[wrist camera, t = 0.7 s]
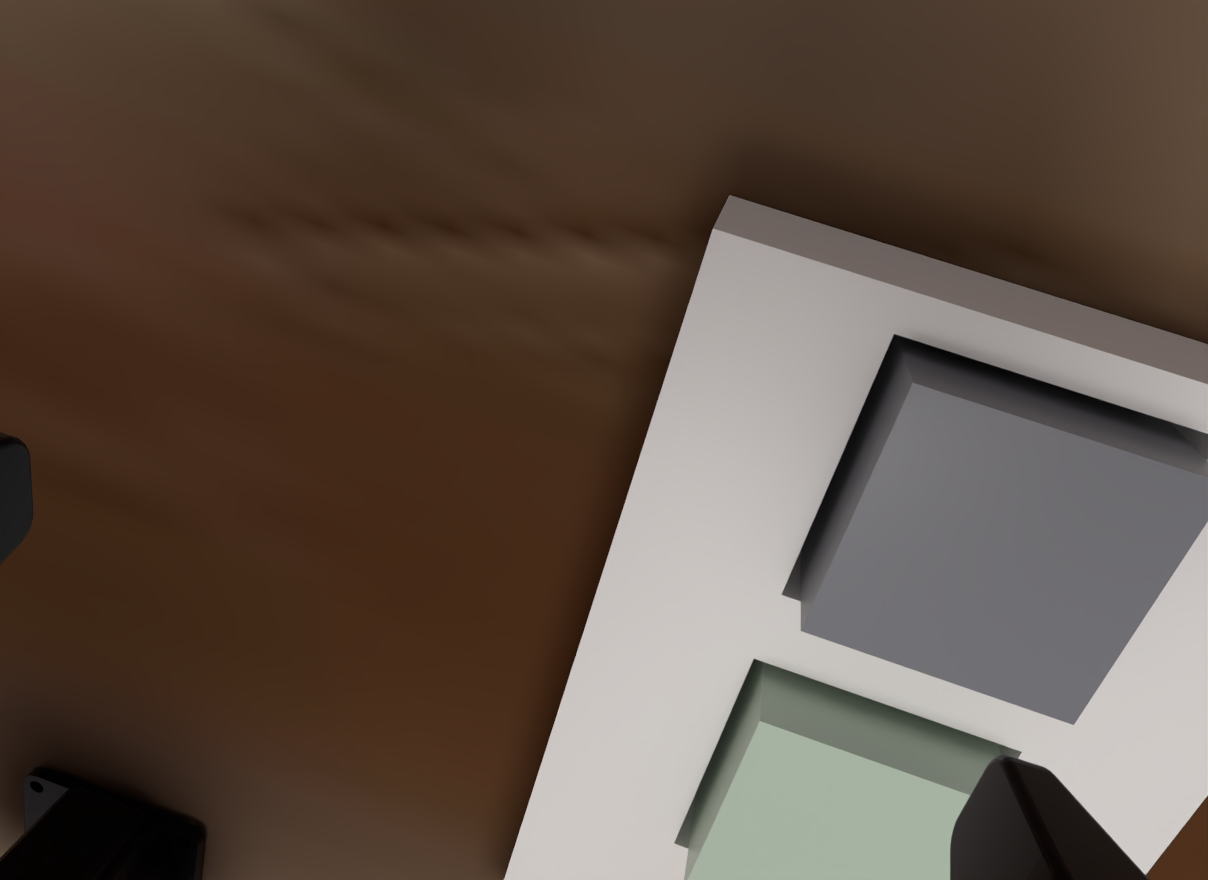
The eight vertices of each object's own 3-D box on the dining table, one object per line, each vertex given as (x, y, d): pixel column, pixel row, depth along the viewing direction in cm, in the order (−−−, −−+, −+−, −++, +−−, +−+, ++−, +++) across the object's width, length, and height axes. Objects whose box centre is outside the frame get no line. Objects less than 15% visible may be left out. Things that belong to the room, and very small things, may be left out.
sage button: (893, 842, 23) (908, 975, 20) (699, 772, 24) (682, 892, 20) (982, 690, 21) (1016, 811, 18) (766, 615, 21) (759, 721, 18)
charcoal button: (1028, 611, 20) (1073, 725, 17) (800, 535, 20) (800, 631, 17) (1150, 403, 18) (1231, 485, 14) (892, 320, 18) (913, 382, 15)
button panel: (900, 1027, 28) (914, 1170, 25) (507, 880, 29) (465, 998, 26) (1336, 384, 19) (1464, 465, 15) (729, 195, 20) (712, 228, 16)
